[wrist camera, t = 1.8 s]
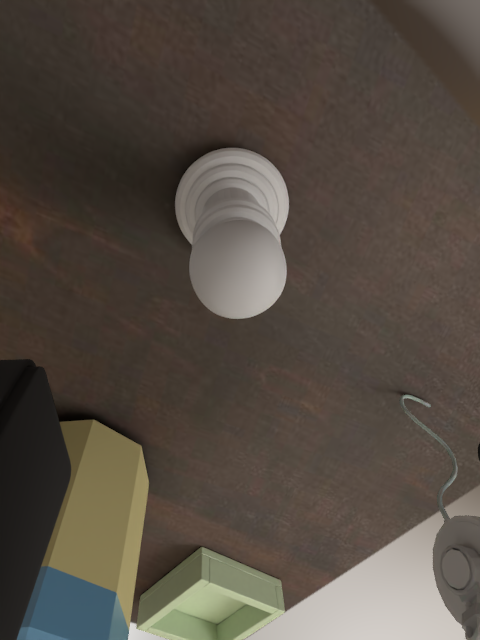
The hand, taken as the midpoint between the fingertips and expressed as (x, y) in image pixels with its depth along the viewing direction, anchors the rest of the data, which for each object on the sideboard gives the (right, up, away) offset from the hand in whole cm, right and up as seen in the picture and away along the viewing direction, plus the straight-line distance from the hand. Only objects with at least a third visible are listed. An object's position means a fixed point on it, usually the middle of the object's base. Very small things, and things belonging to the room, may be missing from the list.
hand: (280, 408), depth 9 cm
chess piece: (-1, +7, +12) cm, 15 cm away
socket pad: (-3, -21, +29) cm, 36 cm away
